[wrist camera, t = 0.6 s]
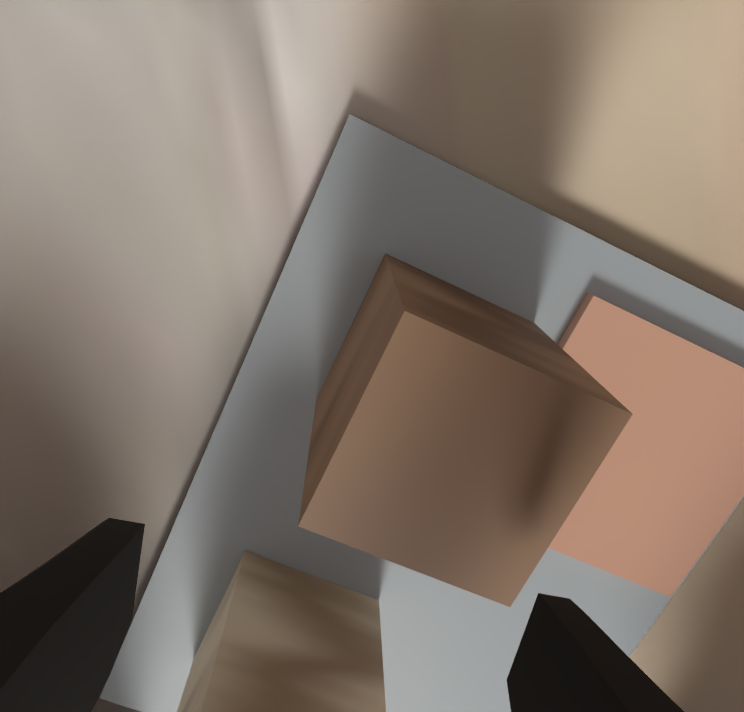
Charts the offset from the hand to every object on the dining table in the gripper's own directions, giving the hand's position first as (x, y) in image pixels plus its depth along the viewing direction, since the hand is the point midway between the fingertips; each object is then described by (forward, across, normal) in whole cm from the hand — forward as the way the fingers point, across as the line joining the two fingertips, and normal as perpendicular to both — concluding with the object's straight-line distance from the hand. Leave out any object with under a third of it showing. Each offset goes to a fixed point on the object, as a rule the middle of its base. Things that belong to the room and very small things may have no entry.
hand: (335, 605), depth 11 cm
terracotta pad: (+9, -9, -1) cm, 13 cm away
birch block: (+9, 0, +9) cm, 12 cm away
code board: (+10, -4, +4) cm, 11 cm away
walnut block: (+9, -2, -2) cm, 9 cm away
